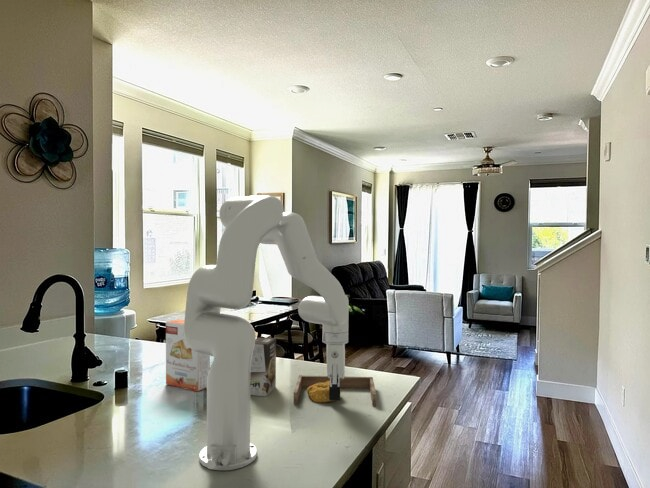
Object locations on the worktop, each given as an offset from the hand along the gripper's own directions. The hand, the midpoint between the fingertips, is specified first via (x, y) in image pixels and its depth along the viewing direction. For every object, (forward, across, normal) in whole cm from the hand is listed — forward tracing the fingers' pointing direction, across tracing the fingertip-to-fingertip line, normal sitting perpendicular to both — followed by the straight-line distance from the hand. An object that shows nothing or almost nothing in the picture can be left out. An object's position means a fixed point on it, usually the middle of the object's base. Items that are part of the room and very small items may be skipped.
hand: (334, 399), depth 135 cm
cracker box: (+2, +13, +48) cm, 50 cm away
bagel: (+2, +6, +4) cm, 7 cm away
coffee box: (+2, +10, +23) cm, 25 cm away
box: (+2, +7, 0) cm, 7 cm away
